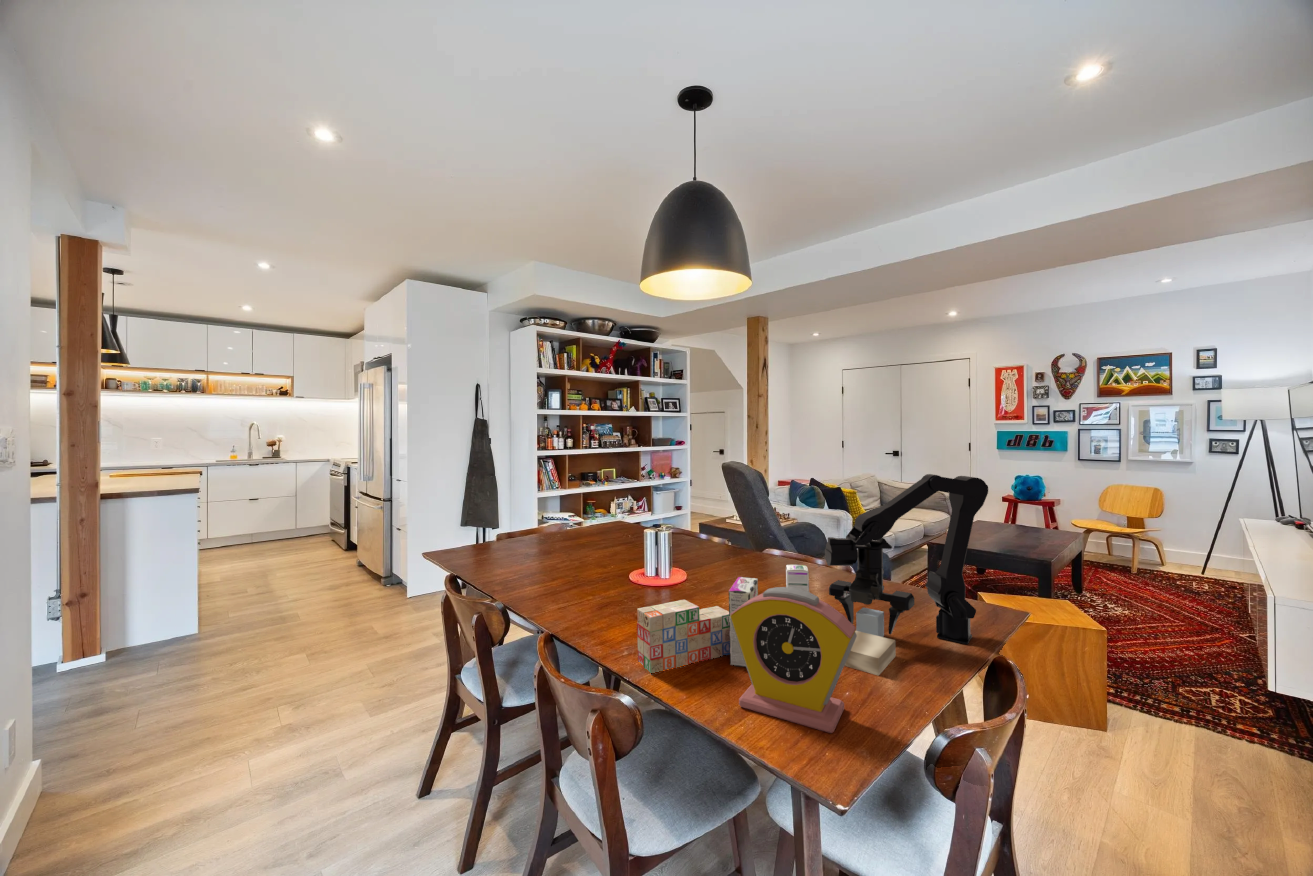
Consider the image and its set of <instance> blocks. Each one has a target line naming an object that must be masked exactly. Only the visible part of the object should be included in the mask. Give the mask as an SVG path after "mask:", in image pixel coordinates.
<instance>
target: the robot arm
mask: <svg viewBox="0 0 1313 876" xmlns="http://www.w3.org/2000/svg"><path fill="white" fill-rule="evenodd" d="M939 492H942V493H948V498H949V503H950V507H951V514H950V519H949V523H948V528H947V533H946V537H945V540H944V541H945V542H944V546H943V552H942V556H941V560H940V561H941V562H940V565H939V567H938V568H937V570H936V571H935V572H934V571H931V570H930V571H928V578H927V583H926V584H925V585H924V586H925V587H926V588H927V594H928V596H929V598H930V599H932V600H933V601H934V603H935V606H936V607H938V608H939V610H938V613H937V615H936V617H935V625H936V626H935V632H936V634H937V635H936V638H938V639H942V640H946V641H948V642H949V641H950V642H955V643H960V644H963V645H969V643H970V642H971V639H972V638H973V635H972V634H971V619H975V616H976V613H977V609H976V608H975V607H974V606H973V605H972V604H971V603H970V602H969V601H968V600H966V583H965V581H964V580H965V579H964V575H963V571H964V566H965V561H966V557H967V552H968V548H969V543H970V538H971V534H972V527H973V526H974V525H973V524H974V519H975V516H976V515H977V513H978V512H979V511H980V510H981V508H982V507H983V506H984V504H985V501H986V499H987V497H988V494H989V485H987V483H986V481H985V480H984V479H982V478H979V477H976V476H975V477H974V476H967V475H959V476H956V477H954V478H952V477H944V476H941V475H938V474H931V473H928V474H924V476H922V477H921V479H918V481H916V482H915V483H913V484H912V485H911V486H909V487H908V488H906V489H905V490H903V491H902V492H900V493H899V494H898V495H896V496H895V497H893V498H892V499H891V500H888V502H886V503H884V504H883V505H880V506H878V507H875V508H872V509H869V510H867V511H865V512H863V513H860V514H859V515H857V517H856V518H855V519H854V526H853V527H852V528H851V529H850V531H848V533H847V535H846V536H845V538H844V537H842V538H841V537H840V538H839V537H837V538H836V537H831V536H830V537H827V542H826V544H825V548H824V556H825V563H826V564H827V566H828V567H829V566H833V567H834V566H836V567H837V566H838V567H853V565H854V564H857V570H856V571H855V577H854V580H853V581H852V582H851V581H845V580H840V579H837V580H836V581H833V583H831V584H830V585H829V588H828V595H829V596H833V598H834V600H836V601H838V602H839V603H840V604H841V605H842V607H843V610H844V612H845V615H846V618H847V619H848V620H849V621H850V622H851V623H852V624H853V625H854V621H855V620H854V617H855V616H854V614H855V613H854V612H855V611H854V604H855V603H861V604H864V605H866V606H868V605H871V604H872V603H873V601H875V600H876V601H877V600H878V601H881V602H882V601H883V602H888V603H889V605H890V607H889V608H888V611H889V618H888V634H889V636H890V635H892V634H893V631H894V629H895V627H896V625H897V621H898V619H899V616H900V615H901V613H902V614H904V612H905V611H906V612H907V611H910V610H911V609H912V608H913V607H914V606H915V596H914V595H913V594H912V592H907V591H902V590H896V591H894V592H893V593H887V592H884V591H885V586H884V585H883V584H884V574H885V568H884V563H883V562H884V561H883V559H884V557H883V556H884V554H883V553H884V550H890V549H892V548H893V546H892V545H891V544H889V542H888V541H887V540H886V538H884V537H885V535H887V534H888V533H889V532H890V531H891V530H892V528H893V527H894V525H895V523H897V521H898V520H899V519H900V518H901V517H903V516H905V515H907V513H909V512H910V511H911V510H912V511H913V509H914V508H916V507H917V506H919V505H920V504H921V503H924V501H926V500H927V499H929V498H931V497H932V496H933V495H934V494H936V493H939Z"/></svg>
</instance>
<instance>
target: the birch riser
mask: <svg viewBox="0 0 1313 876" xmlns="http://www.w3.org/2000/svg"><path fill="white" fill-rule="evenodd" d="M855 633H856V635H857V637H856V639H855V642H854V644H853V646H852V649H851V651H850V653H849V656H848V658H847V660H846V663H845V665H844V667H846V668H851V669H855V670H857V671H860V672H865V673H869V674H871V675H875V676H878V677H880V675H881V674H882V673H883V672H884V670H885V669H886V668H887V667H888V665H890V663H891V662H892V661H893V660H894V659H895V658H896V657H897V656H896V654H897V653H896V651H897V650H896V639H892V638H888V637H884V636H883V637H880V636H876V635H872V634H868V633H864V632H860V631H855Z"/></svg>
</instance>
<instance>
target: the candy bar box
mask: <svg viewBox="0 0 1313 876" xmlns="http://www.w3.org/2000/svg"><path fill="white" fill-rule="evenodd" d="M758 581H759V579H758V578H755V577H744V576H738V577H737V578H736V580H735V581H734V582H733V584H732V585H731V587H730V588H729V589H728V612H729V633H730V654H729V665H730V666H733V665H734V666H733V667H740V668H746V665H745V662H744V659H743V656H742V653H741V650H740V647H739V644H738V641H737V638H736V635H735V632H734V629H733V626H732V623H731V620H730V619H731V617H730V616H731V613H732V612H733V611H735V610H736V609H737V608H739V607H740V606H741V605H743V604H744V603H746V602H747V601H748V600H750V599H751V598H754V597H756V596H758V595H759V585H758V584H759V582H758Z"/></svg>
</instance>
